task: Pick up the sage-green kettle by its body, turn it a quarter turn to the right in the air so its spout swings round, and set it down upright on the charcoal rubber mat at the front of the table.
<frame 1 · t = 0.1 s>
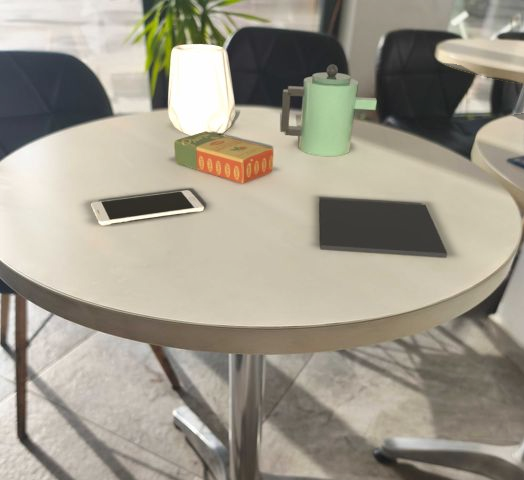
carton: (223, 169, 87), on the table
smartphone: (148, 210, 72), on the table
kettle: (324, 148, 98), on the table
vase: (202, 130, 106), on the table
mat: (377, 227, 69), on the table
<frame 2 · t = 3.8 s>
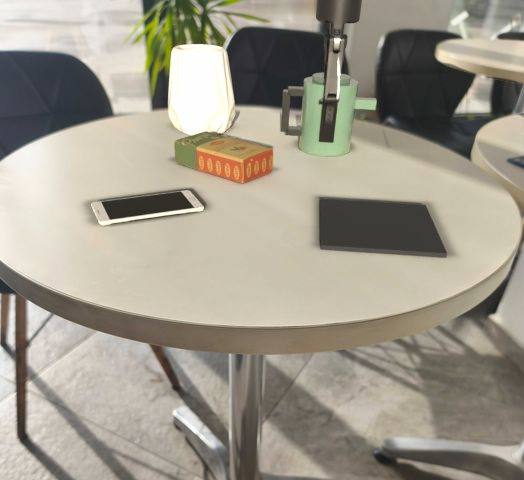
hand: (325, 134, 96), 3 cm above the table, tool pointing down, fingers closed on kettle, 10 cm apart
kettle: (324, 148, 98), on the table, touching gripper
everything else where it was.
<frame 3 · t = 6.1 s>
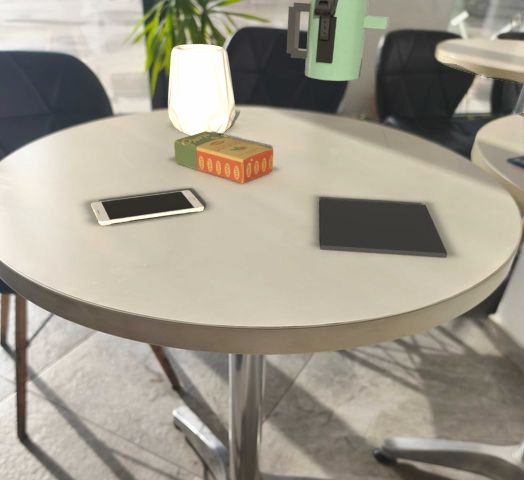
hand: (333, 58, 88), 16 cm above the table, tool pointing down, fingers closed on kettle, 10 cm apart
kettle: (332, 75, 90), point 13 cm above the table, touching gripper
everything else where it was.
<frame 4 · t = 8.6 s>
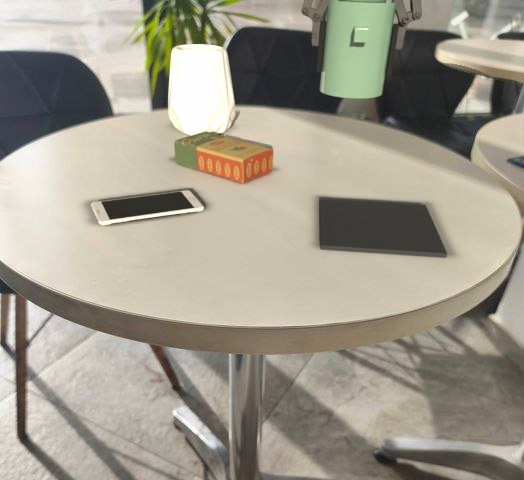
hand: (353, 72, 77), 16 cm above the table, tool pointing down, fingers closed on kettle, 10 cm apart
kettle: (350, 91, 79), point 13 cm above the table, touching gripper
everything else where it was.
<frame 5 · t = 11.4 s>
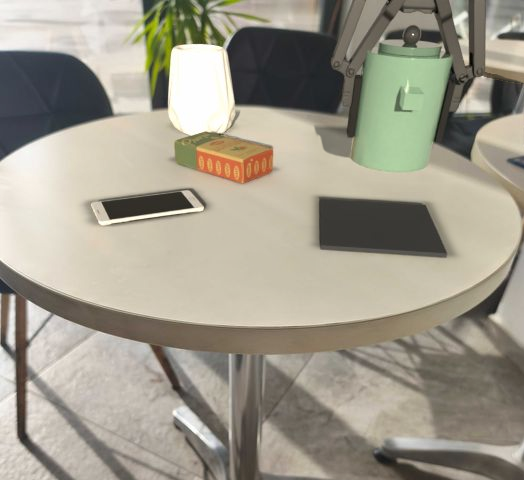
hand: (392, 137, 62), 12 cm above the table, tool pointing down, fingers closed on kettle, 10 cm apart
kettle: (388, 159, 64), point 9 cm above the table, touching gripper
everything else where it was.
when the fingers open (3 cm above the table, at t = 13.9 s): kettle stays where it is, resting on mat.
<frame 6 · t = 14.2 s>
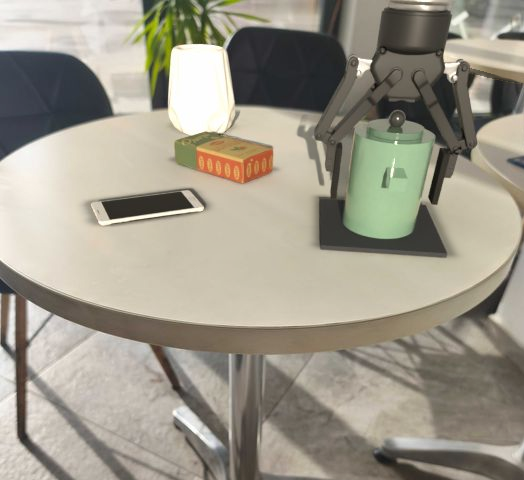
hand: (382, 198, 67), 4 cm above the table, tool pointing down, fingers open, 13 cm apart
kettle: (377, 223, 69), point 1 cm above the table, touching mat
everything else where it was.
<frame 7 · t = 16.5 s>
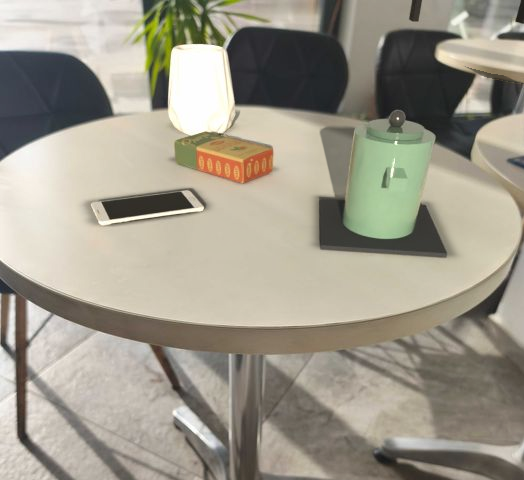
hand: (467, 22, 63), 24 cm above the table, tool pointing down, fingers open, 13 cm apart
nothing on the table moved.
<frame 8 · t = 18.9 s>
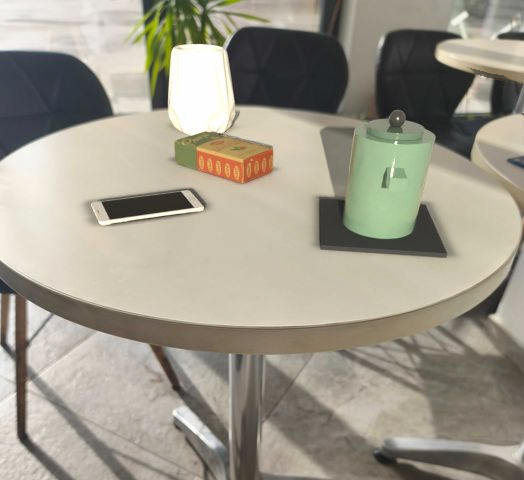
nothing on the table moved.
at the end: kettle inside the target area on the mat (0.0 cm from its centre), point 0.6 cm above the mat's base; kettle tilted 0°; the gripper is holding nothing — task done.
